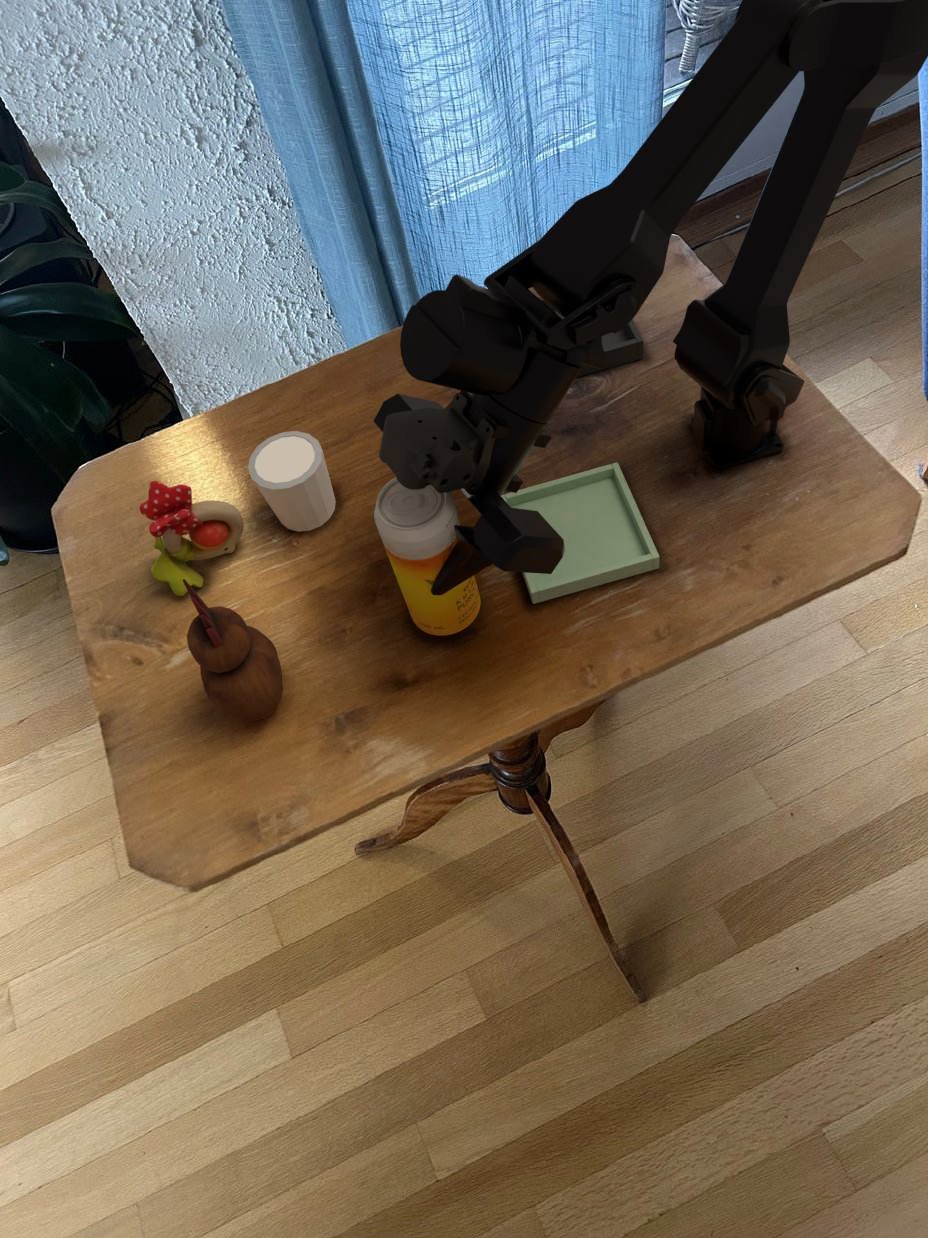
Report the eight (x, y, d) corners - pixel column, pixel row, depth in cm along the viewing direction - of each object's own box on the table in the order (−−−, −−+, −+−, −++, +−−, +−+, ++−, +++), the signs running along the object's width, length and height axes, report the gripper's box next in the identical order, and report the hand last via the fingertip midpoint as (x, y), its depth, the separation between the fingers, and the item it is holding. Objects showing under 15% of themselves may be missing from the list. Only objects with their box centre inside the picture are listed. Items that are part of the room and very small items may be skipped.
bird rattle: (226, 540, 96) (131, 558, 92) (231, 449, 88) (128, 464, 84) (249, 584, 93) (152, 605, 88) (257, 494, 85) (151, 511, 81)
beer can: (481, 637, 83) (451, 529, 70) (410, 643, 84) (367, 536, 71) (482, 578, 86) (452, 464, 74) (413, 583, 87) (373, 471, 74)
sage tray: (617, 474, 90) (617, 461, 89) (659, 568, 84) (659, 556, 83) (500, 507, 90) (497, 495, 89) (532, 604, 84) (531, 593, 83)
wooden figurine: (227, 667, 85) (156, 566, 73) (292, 657, 85) (231, 554, 72) (223, 737, 82) (147, 644, 69) (291, 727, 81) (227, 631, 69)
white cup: (331, 539, 91) (310, 490, 86) (262, 534, 93) (237, 486, 87) (350, 482, 95) (331, 431, 89) (283, 478, 96) (260, 428, 91)
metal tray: (611, 294, 104) (610, 276, 102) (643, 358, 98) (643, 340, 96) (508, 324, 104) (505, 306, 102) (534, 389, 98) (532, 371, 96)
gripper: (366, 308, 70) (279, 486, 77) (510, 463, 60) (395, 650, 68) (475, 341, 78) (388, 499, 85) (618, 483, 68) (505, 648, 76)
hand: (415, 567), depth 78 cm, fingers closed on beer can, 6 cm apart
